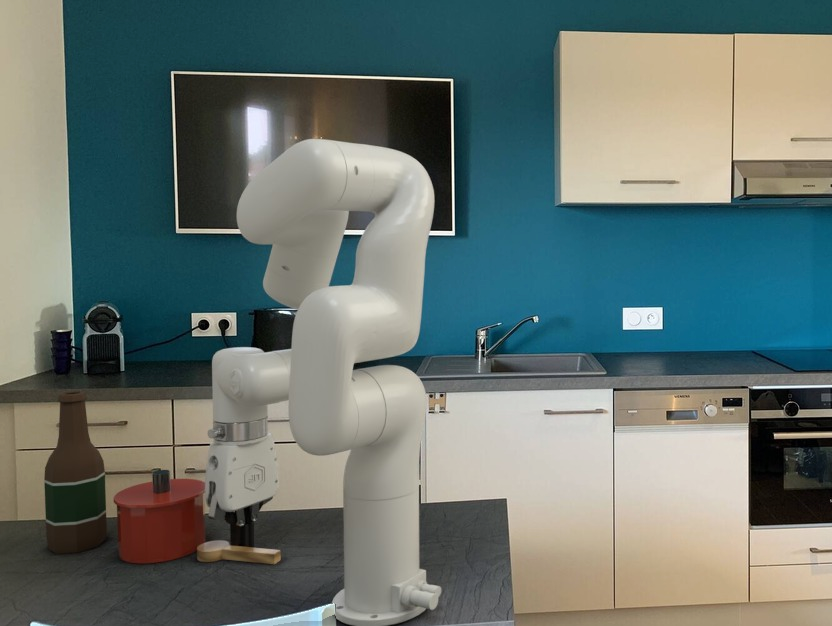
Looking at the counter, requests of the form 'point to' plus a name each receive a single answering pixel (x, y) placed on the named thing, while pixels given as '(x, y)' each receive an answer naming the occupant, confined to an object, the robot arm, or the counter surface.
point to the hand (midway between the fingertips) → (242, 547)
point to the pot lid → (160, 492)
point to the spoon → (236, 553)
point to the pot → (161, 531)
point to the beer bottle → (74, 483)
